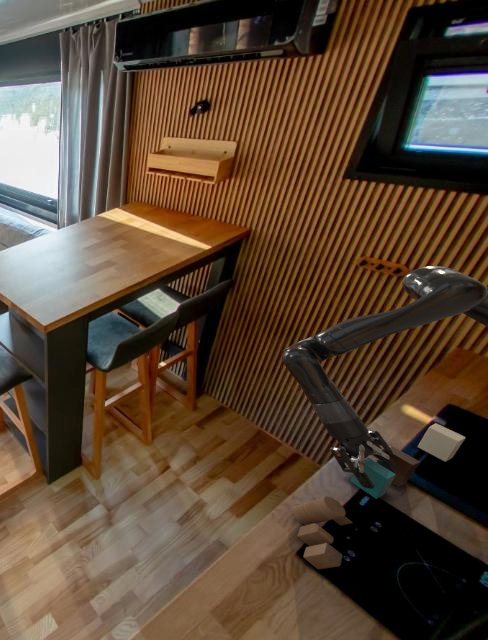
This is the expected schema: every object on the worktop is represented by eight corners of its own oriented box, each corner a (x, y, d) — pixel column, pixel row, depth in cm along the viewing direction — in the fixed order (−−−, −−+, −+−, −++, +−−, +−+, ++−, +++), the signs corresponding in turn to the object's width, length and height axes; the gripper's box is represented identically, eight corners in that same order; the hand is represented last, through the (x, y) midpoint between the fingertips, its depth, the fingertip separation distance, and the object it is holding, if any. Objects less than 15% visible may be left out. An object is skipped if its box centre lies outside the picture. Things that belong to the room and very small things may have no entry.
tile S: (358, 477, 96) (368, 457, 93) (384, 494, 91) (396, 474, 88) (350, 481, 95) (360, 461, 92) (376, 499, 91) (387, 479, 87)
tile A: (424, 442, 101) (435, 423, 97) (452, 457, 96) (466, 437, 93) (417, 447, 100) (429, 427, 97) (445, 461, 96) (459, 441, 92)
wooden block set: (321, 578, 81) (361, 573, 74) (278, 543, 85) (312, 535, 78) (337, 518, 90) (374, 508, 83) (297, 488, 94) (330, 477, 87)
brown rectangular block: (378, 467, 97) (391, 445, 94) (405, 483, 93) (420, 462, 90) (371, 470, 97) (384, 448, 93) (398, 486, 92) (413, 465, 89)
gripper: (334, 426, 90) (379, 495, 85) (373, 407, 93) (420, 473, 88) (304, 425, 97) (344, 489, 92) (341, 408, 100) (383, 469, 95)
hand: (381, 481), depth 90 cm, fingers open, 8 cm apart
